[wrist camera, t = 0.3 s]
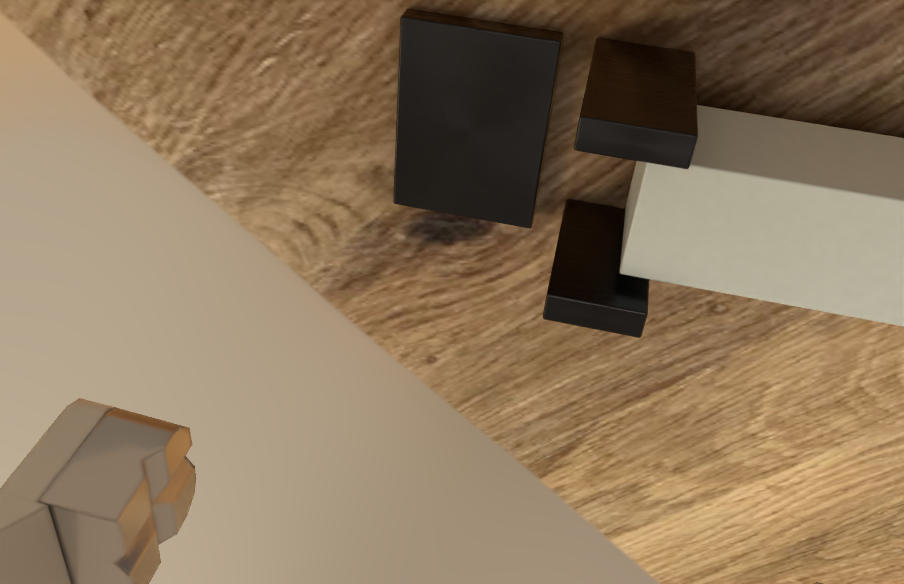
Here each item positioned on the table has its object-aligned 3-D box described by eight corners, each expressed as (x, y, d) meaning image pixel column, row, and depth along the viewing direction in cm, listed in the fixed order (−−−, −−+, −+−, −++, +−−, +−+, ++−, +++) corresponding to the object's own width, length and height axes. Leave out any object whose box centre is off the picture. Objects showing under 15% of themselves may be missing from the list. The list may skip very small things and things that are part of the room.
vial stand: (695, 52, 26) (698, 135, 21) (646, 237, 30) (640, 339, 25) (406, 7, 27) (353, 78, 22) (398, 193, 31) (352, 283, 27)
